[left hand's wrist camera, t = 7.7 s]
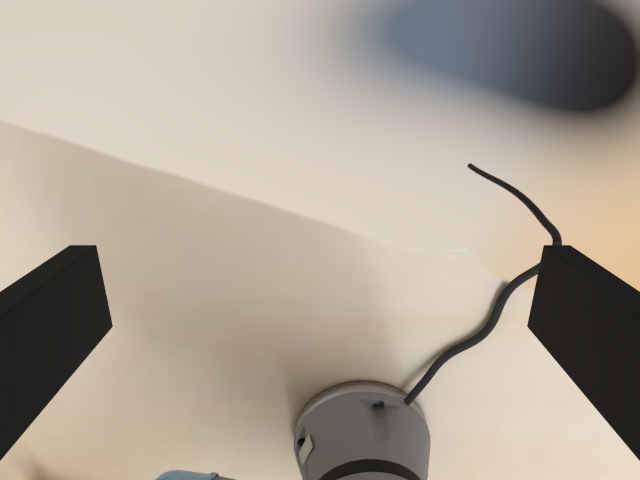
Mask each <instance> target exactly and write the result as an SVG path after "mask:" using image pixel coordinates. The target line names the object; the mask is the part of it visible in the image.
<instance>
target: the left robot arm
mask: <svg viewBox="0 0 640 480" xmlns="http://www.w3.org/2000/svg"><path fill="white" fill-rule="evenodd" d="M468 168H469V169H471V170H472V171H474V172H475V173H477V174H479V175H480V176H482V177H484V178H486V179H488V180H490V181H492V182H493V183H495V184H497V185H499V186H501V187H503V188H504V189H506V190H508V191H509V192H510V193H512V194H513V195H514V196H516V197H517V198H518V199H519V200H520V201H522V202H523V203H524V204H525V205H526V206H527V207H528V209H529V210H530V211H531V212H532V213H533V214H534V216H535V217H536V218H537V220H538V221H539V222H540V223H541V225H542V226H543V227H544V228H545V229H546V230H547V231H548V232H549V234H550V235H551V237H552V240H553V243H552V245H544V247H543V252H542V257H541V262H540V263H539V264H537V265H535V266H534V267H532V268H530V269H529V270H527V271H525V272H524V273H522V274H520V275H519V276H517V277H516V278H515V279H514V280H512V281H511V282H510V283H509V284H508V285H507V286H506V287H505V289H504V290H503V291H502V293H501V294H500V296H499V298H498V300H497V302H496V305H495V307H494V310H493V312H492V315H491V317H490V319H489V321H488V323H487V324H486V325H485V327H484V328H483V329H482V330H481V331H480V332H479V333H477V334H476V335H475V336H473V337H472V338H470V339H468V340H466V341H464V342H462V343H460V344H458V345H456V346H454V347H453V348H451V349H449V350H448V351H446V352H445V353H443V354H442V355H441V356H440V357H439V358H438V359H437V360H436V361H435V362H434V363H433V364H432V366H431V367H430V368H429V370H428V371H427V372H426V374H425V375H424V376H423V378H422V379H421V380H420V381H419V382H418V384H417V385H416V386H415V387H414V388H413V389H412V391H411V392H410V393H409V394H408V395H407V394H405V393H404V392H402V391H400V390H399V389H397V388H394V387H392V386H389V385H386V384H382V383H377V382H368V381H357V382H349V383H344V384H340V385H337V386H334V387H331V388H329V389H327V390H325V391H323V392H321V393H320V394H318V395H317V396H315V397H314V398H313V399H312V400H311V401H310V402H309V403H308V404H307V405H306V406H305V407H304V408H303V410H302V411H301V413H300V415H299V417H298V419H297V423H296V427H295V438H294V450H295V455H296V460H297V463H298V466H299V469H300V472H301V475H302V478H303V480H427V476H428V465H429V453H430V435H429V430H428V427H427V424H426V421H425V417H424V415H423V413H422V411H421V409H420V407H419V406H418V405H417V403H416V402H415V401H414V399H415V398H416V397H417V396H418V394H419V393H420V392H421V391H422V390H423V389H424V387H425V386H426V385H427V384H428V383H429V381H430V380H431V379H432V377H433V376H434V375H435V373H436V372H437V371H438V369H439V368H440V367H441V366H442V365H443V364H444V363H445V362H446V361H447V360H449V359H450V358H451V357H453V356H455V355H456V354H458V353H460V352H462V351H464V350H466V349H468V348H470V347H472V346H474V345H476V344H477V343H479V342H480V341H482V340H483V339H484V338H485V337H486V336H488V334H489V333H490V332H491V331H492V330H493V328H494V327H495V325H496V324H497V322H498V320H499V317H500V315H501V313H502V310H503V308H504V305H505V303H506V301H507V299H508V298H509V296H510V295H511V293H512V292H513V291H514V290H515V289H516V288H517V287H518V286H519V285H521V284H522V283H524V282H525V281H527V280H528V279H530V278H532V277H533V276H535V275H537V274H538V277H537V282H536V287H535V291H534V296H533V301H532V306H531V311H530V316H529V321H528V326H527V327H528V328H529V329H530V330H531V331H532V333H533V334H534V335H535V336H536V337H537V338H538V340H539V341H540V342H541V343H542V344H543V346H544V347H545V348H546V349H547V350H548V352H549V353H550V354H551V355H552V356H553V358H554V359H555V360H556V361H557V362H558V364H559V365H560V366H561V367H562V368H563V370H564V371H565V372H566V373H567V374H568V376H569V377H570V378H571V379H572V380H573V381H574V383H575V384H576V385H577V386H578V387H579V389H580V390H581V391H582V392H583V393H584V395H585V396H586V397H587V398H588V399H589V401H590V402H591V403H592V404H593V405H594V407H595V408H596V409H597V410H598V411H599V413H600V414H601V415H602V416H603V417H604V419H605V420H606V421H607V422H608V423H609V425H610V426H611V427H612V428H613V429H614V430H615V432H616V433H617V434H618V435H619V436H620V438H621V439H622V440H623V441H624V442H625V444H626V445H627V446H628V447H629V448H630V450H631V451H632V452H633V453H634V454H635V456H636V457H637V458H638V459H639V460H640V292H639V291H638V290H636V289H635V288H633V287H632V286H630V285H629V284H627V283H626V282H624V281H623V280H621V279H620V278H618V277H617V276H615V275H614V274H612V273H611V272H609V271H608V270H606V269H605V268H603V267H602V266H600V265H599V264H597V263H596V262H594V261H593V260H591V259H590V258H588V257H587V256H585V255H584V254H582V253H581V252H579V251H578V250H576V249H575V248H573V247H572V246H570V245H562V239H561V235H560V233H559V231H558V230H557V228H556V227H555V226H554V225H553V224H552V223H551V222H550V221H549V220H548V219H547V218H546V216H545V215H544V214H543V213H542V212H541V210H540V209H539V208H538V207H537V206H536V205H535V204H534V203H533V202H532V201H531V200H530V199H529V198H528V197H527V196H526V195H524V194H523V193H522V192H520V191H519V190H518V189H516V188H515V187H513V186H511V185H510V184H508V183H506V182H504V181H503V180H501V179H499V178H497V177H495V176H493V175H491V174H488V173H486V172H485V171H483V170H481V169H479V168H477V167H476V166H474V165H473V164H471V163H470V164H468ZM112 327H113V326H112V321H111V316H110V311H109V306H108V301H107V296H106V291H105V286H104V282H103V277H102V272H101V267H100V262H99V257H98V252H97V247H96V245H70V246H68V247H67V248H65V249H64V250H62V251H61V252H59V253H58V254H56V255H55V256H53V257H52V258H50V259H49V260H47V261H46V262H44V263H43V264H41V265H40V266H38V267H37V268H35V269H34V270H32V271H31V272H29V273H28V274H26V275H25V276H23V277H22V278H20V279H19V280H17V281H16V282H14V283H13V284H11V285H10V286H8V287H7V288H5V289H4V290H2V291H1V292H0V460H1V459H2V458H3V457H4V456H5V454H6V453H7V452H8V451H9V450H10V448H11V447H12V446H13V445H14V444H15V442H16V441H17V440H18V439H19V438H20V436H21V435H22V434H23V433H24V432H25V430H26V429H27V428H28V427H29V426H30V425H31V423H32V422H33V421H34V420H35V419H36V417H37V416H38V415H39V414H40V413H41V411H42V410H43V409H44V408H45V407H46V405H47V404H48V403H49V402H50V401H51V399H52V398H53V397H54V396H55V395H56V393H57V392H58V391H59V390H60V389H61V387H62V386H63V385H64V384H65V383H66V381H67V380H68V379H69V378H70V377H71V376H72V374H73V373H74V372H75V371H76V370H77V368H78V367H79V366H80V365H81V364H82V362H83V361H84V360H85V359H86V358H87V356H88V355H89V354H90V353H91V352H92V350H93V349H94V348H95V347H96V346H97V344H98V343H99V342H100V341H101V340H102V338H103V337H104V336H105V335H106V334H107V333H108V331H109V330H110V329H111V328H112ZM155 480H235V479H230V478H225V477H220V476H219V473H215V472H213V473H211V474H204V473H196V472H189V471H182V470H171V471H168V472H165V473H163V474H162V475H160V476H159V477H158V478H156V479H155Z"/></svg>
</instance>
